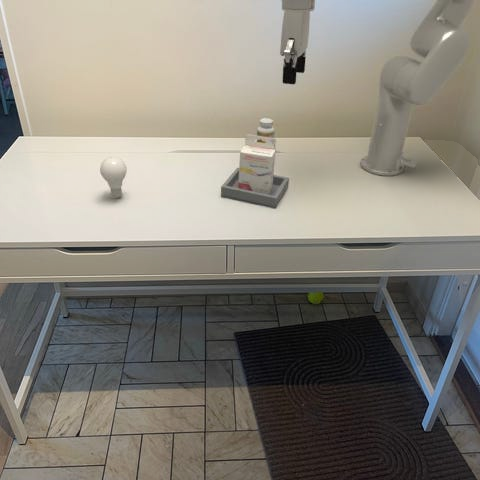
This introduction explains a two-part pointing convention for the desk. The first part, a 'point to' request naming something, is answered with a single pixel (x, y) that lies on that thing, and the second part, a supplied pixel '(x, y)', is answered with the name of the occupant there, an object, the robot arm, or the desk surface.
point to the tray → (272, 200)
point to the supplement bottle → (265, 129)
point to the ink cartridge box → (257, 164)
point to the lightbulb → (114, 174)
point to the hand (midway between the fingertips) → (293, 77)
